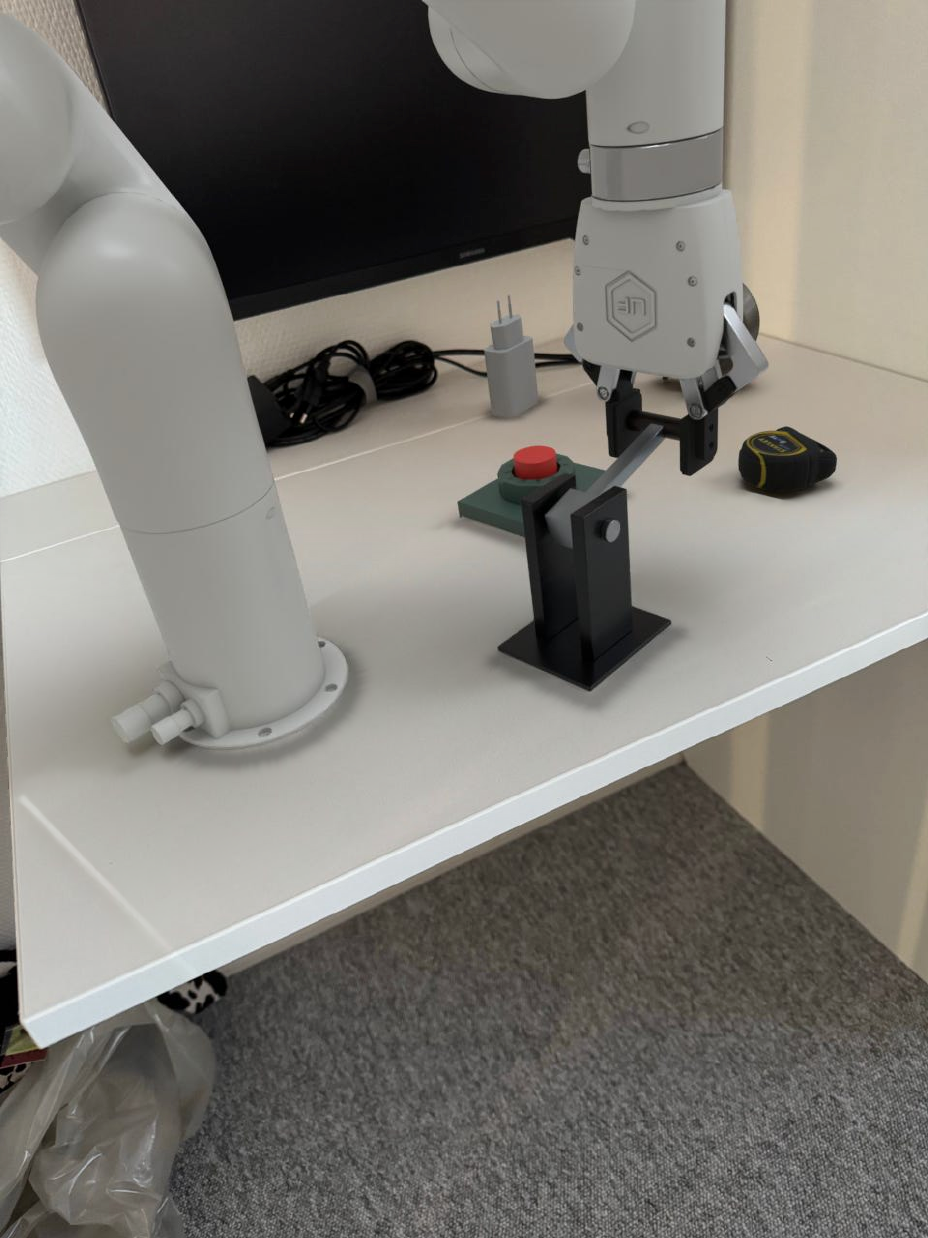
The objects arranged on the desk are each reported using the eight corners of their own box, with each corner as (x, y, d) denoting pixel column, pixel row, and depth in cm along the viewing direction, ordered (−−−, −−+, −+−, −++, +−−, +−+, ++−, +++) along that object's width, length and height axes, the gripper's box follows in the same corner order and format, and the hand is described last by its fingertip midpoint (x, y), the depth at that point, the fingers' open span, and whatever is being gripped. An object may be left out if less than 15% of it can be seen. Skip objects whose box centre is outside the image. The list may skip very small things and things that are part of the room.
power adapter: (489, 415, 103) (475, 303, 96) (519, 397, 106) (507, 288, 99) (511, 419, 101) (499, 306, 94) (541, 400, 104) (531, 290, 98)
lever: (640, 427, 66) (634, 399, 65) (703, 440, 63) (698, 411, 61) (536, 537, 61) (526, 509, 60) (598, 557, 58) (589, 529, 57)
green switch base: (538, 550, 77) (533, 506, 75) (460, 523, 83) (454, 482, 81) (619, 496, 83) (617, 454, 81) (541, 474, 89) (537, 435, 87)
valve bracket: (580, 600, 70) (568, 453, 64) (671, 634, 65) (669, 479, 59) (499, 660, 65) (477, 508, 59) (591, 702, 60) (578, 541, 54)
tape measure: (839, 487, 79) (843, 445, 77) (766, 508, 78) (768, 466, 76) (791, 458, 85) (793, 418, 83) (722, 477, 83) (723, 437, 81)
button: (538, 485, 79) (536, 466, 78) (506, 476, 81) (504, 457, 80) (565, 468, 81) (564, 450, 80) (534, 460, 83) (532, 442, 82)
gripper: (503, 182, 58) (530, 455, 68) (755, 187, 47) (743, 510, 57) (579, 157, 62) (595, 418, 72) (827, 156, 51) (804, 463, 61)
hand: (660, 456), depth 64 cm, fingers closed on lever, 5 cm apart
